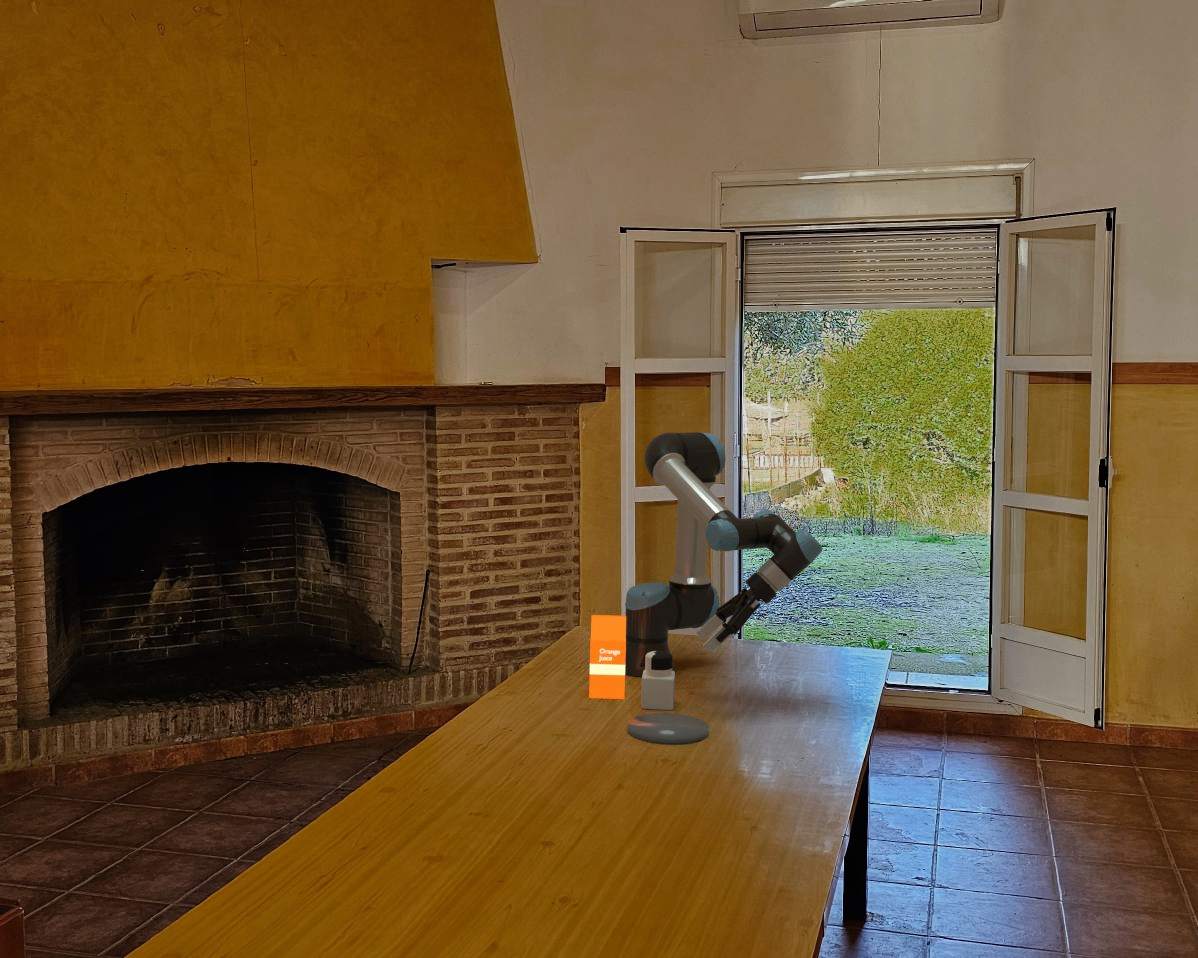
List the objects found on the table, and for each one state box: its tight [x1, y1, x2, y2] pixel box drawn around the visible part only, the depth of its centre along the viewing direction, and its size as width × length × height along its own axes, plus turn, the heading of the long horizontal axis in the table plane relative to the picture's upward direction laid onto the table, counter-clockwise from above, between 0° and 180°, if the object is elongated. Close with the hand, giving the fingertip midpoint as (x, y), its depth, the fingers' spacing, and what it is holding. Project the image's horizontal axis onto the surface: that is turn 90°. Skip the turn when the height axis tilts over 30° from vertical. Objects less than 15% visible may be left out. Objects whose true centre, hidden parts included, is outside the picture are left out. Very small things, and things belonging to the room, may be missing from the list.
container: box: [640, 651, 676, 711], centre depth 270 cm, size 8×8×13 cm
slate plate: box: [627, 712, 709, 745], centre depth 250 cm, size 18×18×2 cm
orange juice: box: [588, 614, 626, 700], centre depth 279 cm, size 8×9×20 cm
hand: (703, 642), depth 270 cm, fingers open, 13 cm apart
